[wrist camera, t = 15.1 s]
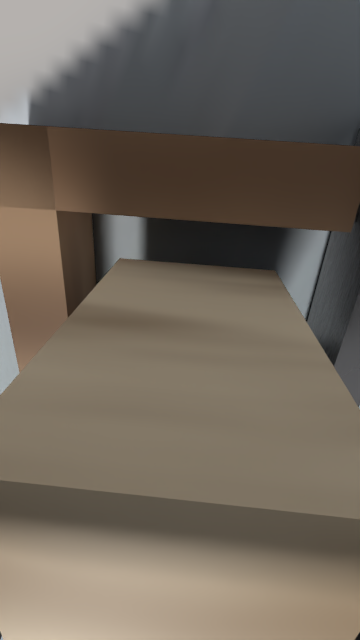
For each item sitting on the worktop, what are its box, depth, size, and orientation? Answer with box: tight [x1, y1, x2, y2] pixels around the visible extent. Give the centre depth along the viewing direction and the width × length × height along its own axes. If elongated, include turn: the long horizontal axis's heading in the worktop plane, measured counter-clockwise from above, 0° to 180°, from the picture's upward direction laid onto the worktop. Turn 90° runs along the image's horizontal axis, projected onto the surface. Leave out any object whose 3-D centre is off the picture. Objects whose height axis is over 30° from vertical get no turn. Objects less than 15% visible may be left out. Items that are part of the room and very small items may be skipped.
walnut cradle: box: [0, 123, 360, 372], centre depth 12 cm, size 12×10×3 cm
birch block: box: [0, 258, 360, 640], centre depth 8 cm, size 5×5×8 cm
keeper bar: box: [307, 129, 360, 407], centre depth 13 cm, size 21×2×4 cm, turn 176°
